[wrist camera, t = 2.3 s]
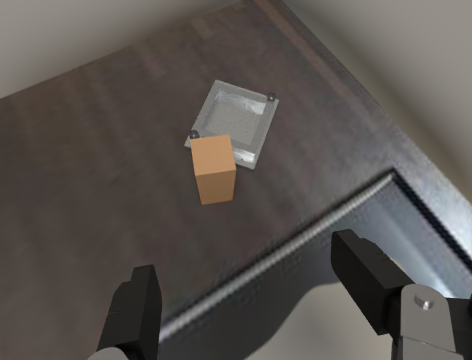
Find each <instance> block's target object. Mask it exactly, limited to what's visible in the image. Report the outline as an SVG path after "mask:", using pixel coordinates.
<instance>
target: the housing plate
mask: <svg viewBox="0 0 472 360" xmlns="http://www.w3.org/2000/svg"><path fill="white" fill-rule="evenodd" d="M278 102H279V100H277V99H276V95H275V94H274V93H269V94H268V96H265V95H262V94H259V93H256V92H253V91H250V90H247V89H244V88H240V87H237V86H234V85H231V84H228V83H225V82H222V81H219V80H216V81H215V83H214V85H213V87H212V89H211V91H210V93H209V95H208V97H207V99H206V101H205V103H204V105H203V107H202V109H201V112H200V114H199V116H198V118H197V120H196V122H195V124H194V126H193V128H192V130H191V131H190V133H189V136H188V138H187V140H186V142H185V145H184V147H185V148H186V149H189V150H191V151H192V149H191V142H190V139H197V138H204V137H212V136H219V135H227V134H229V136H230V141H231V146H232V151H233V156H234V161H235V166H238V167H240V168H243V169H246V170H249V171H252V172H253V171H254V168H255V165H256V163H257V160H258V157H259V154H260V152H261V149H262V146H263V143H264V141H265V138H266V135H267V132H268V130H269V127H270V124H271V121H272V119H273V116H274V113H275V111H276V108H277V105H278Z"/></svg>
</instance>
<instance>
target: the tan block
mask: <svg viewBox="0 0 472 360" xmlns="http://www.w3.org/2000/svg"><path fill="white" fill-rule="evenodd" d="M190 142H191V149H192V156H193V163H194V170H195V177H196V181H197V186H198V190H199V195H200V199H201V204H202V205H205V204H212V203H218V202H224V201H230V200H233V192H234V184H235V176H236V166H235V161H234V156H233V151H232V146H231V141H230V136H229V134H227V135H219V136H212V137H204V138H197V139H190Z"/></svg>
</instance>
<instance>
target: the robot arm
mask: <svg viewBox="0 0 472 360" xmlns="http://www.w3.org/2000/svg"><path fill="white" fill-rule="evenodd" d="M331 265H332V268H333V270H334V272H335V274H336V275H337V277H338V278H339V280H340V281H341V283H342V284H343V285H344V287H345V288H346V289H347V291H348V293H349V294H350V296H351V297H352V299H353V300H354V301H355V303H356V304H357V306H358V307H359V309H360V310H361V312H362V313H363V315H364V316H365V317H366V319H367V320H368V322H369V323H370V325H371V326H372V328H373V329H374V330H375V332H376V333H377V335H383V334H388V333H389V334H390V336H391V337H392V338H393V341H392V352H391V360H472V294H471V297H470V299H458V298H446V297H444V296H443V295H442V294H441V293H439V292H438V291H436V290H435V289H433V288H431V287H428V286H425V285H421V284H415V283H414V282H413V281H412V280H411V279H410V278H409V277H408V276H407V275H406V274H405V273H404V272H403V271H402V270H401V269H400V268H399V267H398V266H397V265H396V264H395V263H394V262H393V261H392V260H390V258H389V257H388V256H387V255H386V254H385V253H383V251H382V250H381V249H380V248H379V247H378V246H377V245H376V244H375V243H373V242H371V241H369V240H367V239H365V238H361V239H360V238H359V237H358V236H357V235H356V234H355V233H354V232H353V231H352V230H351V229H346V230H341V231H335V232H333V233H332V241H331ZM161 312H162V295H161V290H160V287H159V283H158V279H157V276H156V272H155V268H154V266H153V265H146V266H141V267H135V268H134V270H133V273H132V277H131V281H128V282H123V283H122V284H121V285H120V286H119V288H118V289H117V290H116V291H115V293H114V295H113V299H112V302H111V306H110V309H109V312H108V316H107V318H106V322H105V325H104V328H103V331H102V335H101V338H100V341H99V345H98V348H97V351H96V353H95V354H93V355H92V356H91V357H89V358H88V359H87V360H157V353H158V343H159V333H160V322H161Z"/></svg>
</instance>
